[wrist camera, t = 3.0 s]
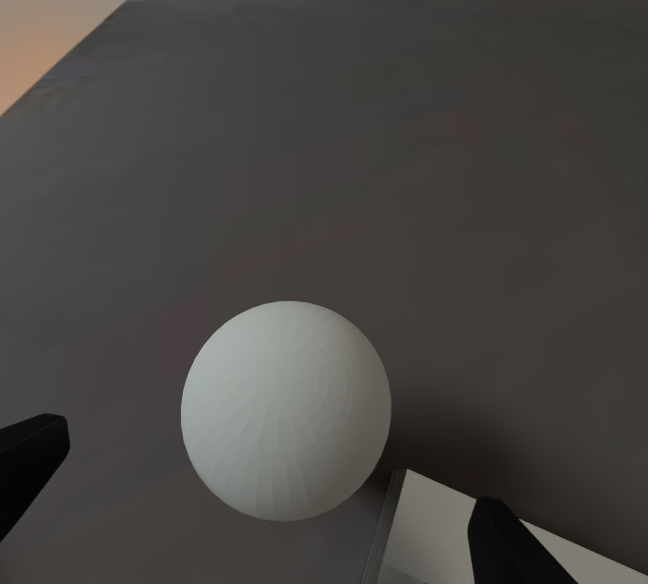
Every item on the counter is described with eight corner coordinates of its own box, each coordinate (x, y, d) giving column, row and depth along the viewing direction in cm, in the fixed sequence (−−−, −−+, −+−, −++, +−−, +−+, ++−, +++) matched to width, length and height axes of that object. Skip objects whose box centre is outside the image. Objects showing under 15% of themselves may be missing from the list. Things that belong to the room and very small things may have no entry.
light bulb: (251, 520, 15) (144, 590, 6) (230, 385, 17) (134, 293, 9) (382, 477, 16) (461, 483, 7) (342, 354, 18) (362, 240, 9)
